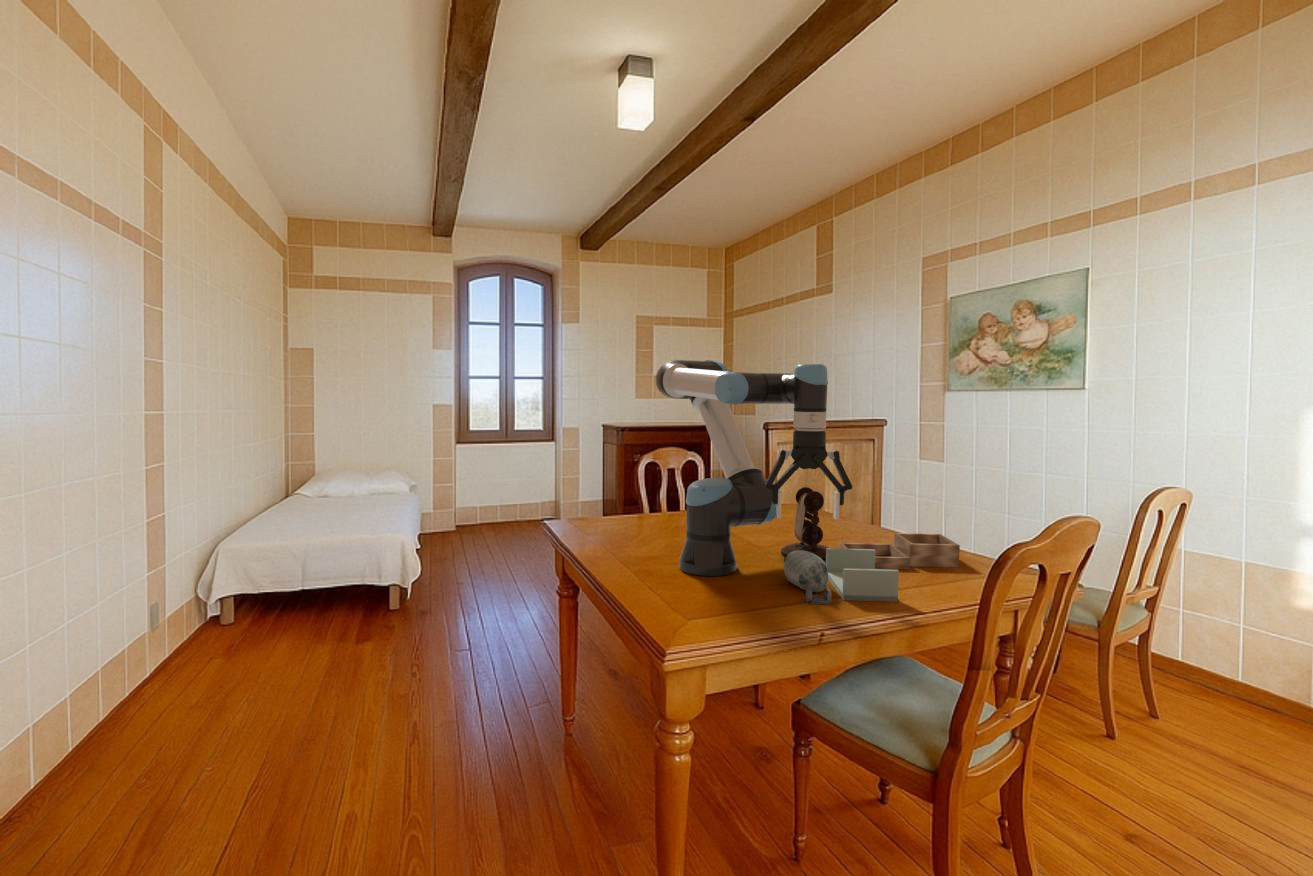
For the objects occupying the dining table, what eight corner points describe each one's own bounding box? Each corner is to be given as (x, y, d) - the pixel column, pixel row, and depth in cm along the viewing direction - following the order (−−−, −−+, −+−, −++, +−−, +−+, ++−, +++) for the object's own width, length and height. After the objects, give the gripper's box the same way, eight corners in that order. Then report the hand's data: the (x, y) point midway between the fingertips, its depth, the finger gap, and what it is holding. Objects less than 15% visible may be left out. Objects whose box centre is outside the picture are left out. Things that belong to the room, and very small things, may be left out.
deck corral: (852, 567, 168) (852, 556, 168) (838, 553, 183) (839, 542, 182) (909, 569, 167) (910, 558, 167) (891, 554, 182) (891, 544, 182)
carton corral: (909, 566, 170) (910, 544, 169) (893, 553, 183) (894, 533, 182) (958, 567, 169) (959, 545, 169) (939, 554, 182) (940, 534, 182)
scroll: (774, 553, 181) (775, 485, 180) (823, 552, 183) (825, 484, 181) (790, 568, 167) (792, 494, 165) (844, 567, 168) (846, 493, 167)
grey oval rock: (842, 581, 145) (821, 543, 146) (807, 602, 144) (786, 562, 145) (823, 578, 159) (804, 542, 160) (791, 596, 157) (771, 560, 159)
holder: (843, 600, 142) (844, 569, 142) (825, 575, 161) (826, 548, 161) (897, 601, 142) (898, 571, 141) (873, 576, 161) (874, 549, 160)
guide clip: (808, 603, 140) (808, 590, 140) (805, 599, 143) (806, 586, 143) (830, 604, 140) (831, 591, 139) (827, 599, 142) (828, 586, 142)
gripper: (758, 430, 146) (756, 520, 147) (867, 431, 145) (864, 522, 146) (754, 428, 153) (753, 514, 155) (858, 429, 152) (856, 515, 154)
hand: (807, 518), depth 151 cm, fingers open, 13 cm apart
